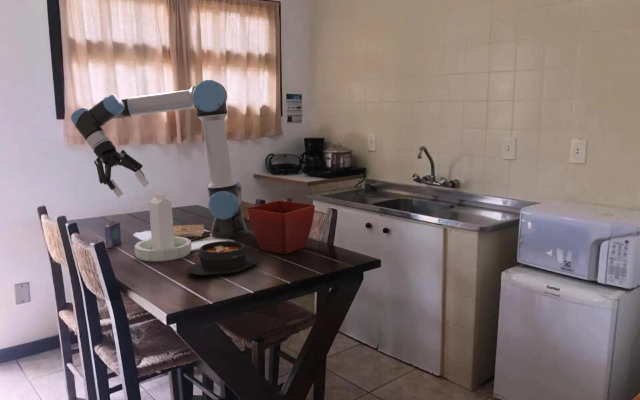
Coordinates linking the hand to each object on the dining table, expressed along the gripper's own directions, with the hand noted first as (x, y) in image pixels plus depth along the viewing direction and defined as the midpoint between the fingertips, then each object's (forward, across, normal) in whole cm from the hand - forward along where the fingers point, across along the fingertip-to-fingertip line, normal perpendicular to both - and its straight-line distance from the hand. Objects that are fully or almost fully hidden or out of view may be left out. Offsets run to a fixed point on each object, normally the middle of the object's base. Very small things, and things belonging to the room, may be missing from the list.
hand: (134, 190), depth 202 cm
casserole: (+45, +11, +24) cm, 52 cm away
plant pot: (+52, -20, +26) cm, 61 cm away
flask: (+11, +3, -25) cm, 27 cm away
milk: (+26, +4, -2) cm, 26 cm away
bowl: (+26, +4, -3) cm, 27 cm away
